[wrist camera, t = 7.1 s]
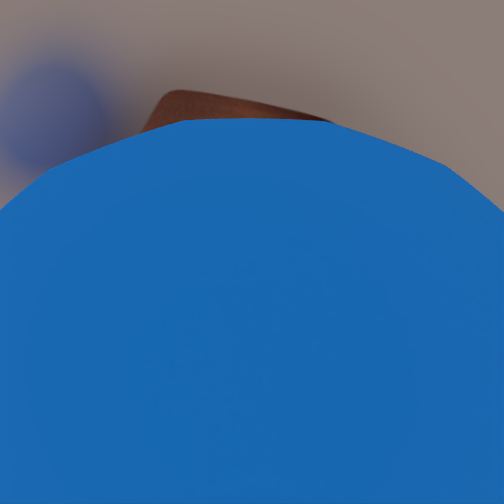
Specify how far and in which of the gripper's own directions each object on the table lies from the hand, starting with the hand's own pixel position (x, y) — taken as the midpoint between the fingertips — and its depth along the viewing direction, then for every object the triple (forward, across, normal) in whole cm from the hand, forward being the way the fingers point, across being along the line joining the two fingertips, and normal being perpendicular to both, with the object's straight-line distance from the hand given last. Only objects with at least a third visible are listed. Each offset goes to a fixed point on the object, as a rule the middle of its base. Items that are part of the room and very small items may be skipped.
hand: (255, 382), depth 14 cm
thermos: (+7, 0, -11) cm, 13 cm away
